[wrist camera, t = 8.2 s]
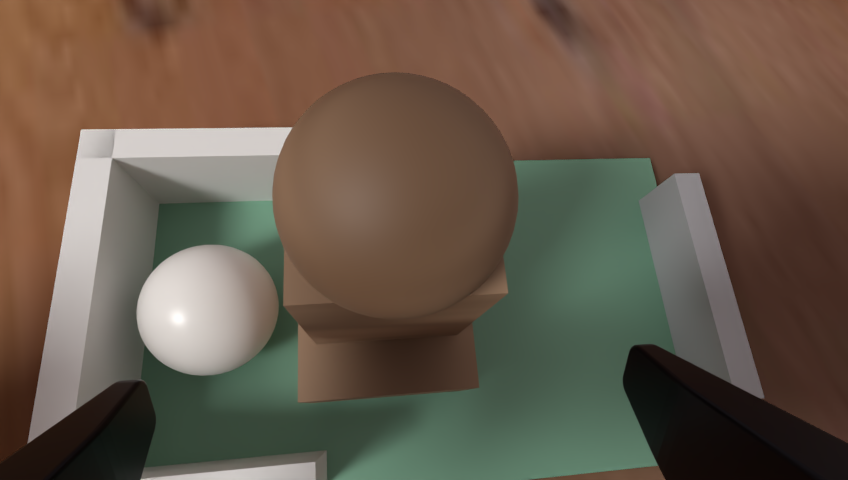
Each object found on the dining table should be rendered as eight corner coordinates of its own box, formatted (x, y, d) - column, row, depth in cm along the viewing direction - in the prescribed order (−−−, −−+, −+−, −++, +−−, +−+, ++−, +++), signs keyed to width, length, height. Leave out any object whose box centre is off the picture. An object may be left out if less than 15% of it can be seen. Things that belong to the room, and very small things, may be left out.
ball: (172, 404, 12) (215, 405, 16) (297, 298, 13) (310, 322, 17) (78, 290, 13) (140, 317, 16) (207, 199, 14) (238, 243, 18)
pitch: (637, 168, 22) (702, 111, 18) (708, 455, 18) (813, 470, 14) (146, 179, 19) (83, 115, 15) (106, 519, 15) (6, 562, 11)
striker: (443, 228, 18) (552, -37, 7) (459, 390, 16) (639, 360, 6) (310, 233, 18) (216, -48, 7) (311, 403, 16) (181, 396, 5)
